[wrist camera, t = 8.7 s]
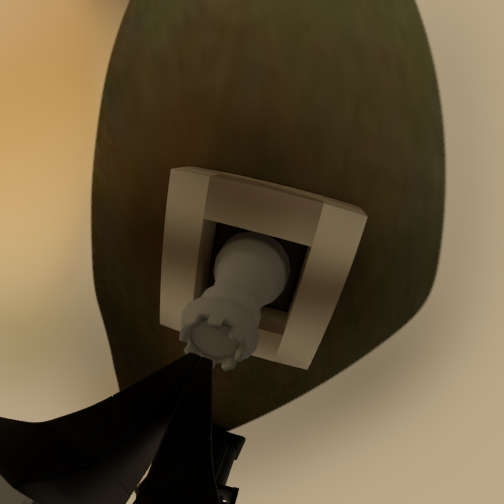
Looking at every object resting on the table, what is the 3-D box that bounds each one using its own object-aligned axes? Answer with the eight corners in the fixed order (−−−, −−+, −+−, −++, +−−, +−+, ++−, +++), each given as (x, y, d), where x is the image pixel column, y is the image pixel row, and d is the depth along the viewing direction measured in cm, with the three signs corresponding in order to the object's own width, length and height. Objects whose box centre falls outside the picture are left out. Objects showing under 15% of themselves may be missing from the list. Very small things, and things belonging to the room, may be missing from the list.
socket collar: (309, 345, 18) (307, 369, 16) (175, 305, 19) (160, 323, 17) (359, 206, 14) (367, 216, 12) (190, 166, 16) (170, 169, 13)
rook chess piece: (272, 306, 18) (242, 401, 10) (210, 276, 18) (148, 353, 11) (304, 249, 16) (293, 332, 9) (235, 216, 16) (170, 271, 9)
